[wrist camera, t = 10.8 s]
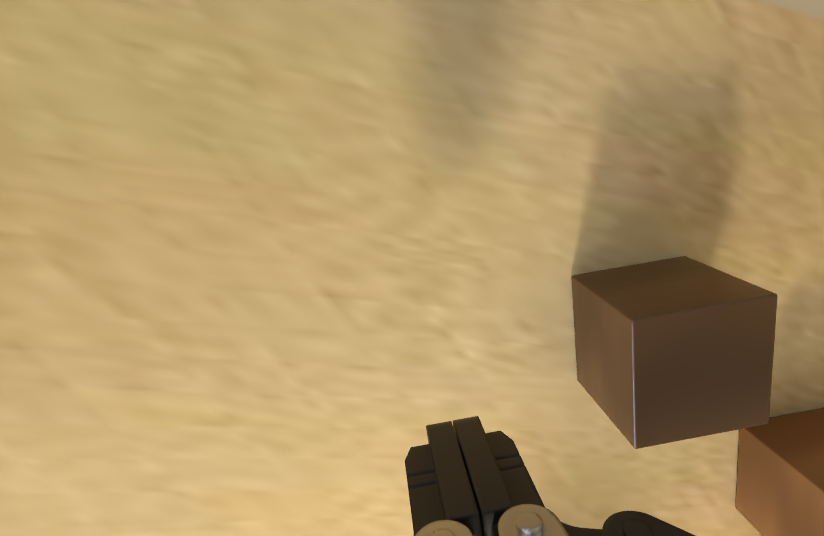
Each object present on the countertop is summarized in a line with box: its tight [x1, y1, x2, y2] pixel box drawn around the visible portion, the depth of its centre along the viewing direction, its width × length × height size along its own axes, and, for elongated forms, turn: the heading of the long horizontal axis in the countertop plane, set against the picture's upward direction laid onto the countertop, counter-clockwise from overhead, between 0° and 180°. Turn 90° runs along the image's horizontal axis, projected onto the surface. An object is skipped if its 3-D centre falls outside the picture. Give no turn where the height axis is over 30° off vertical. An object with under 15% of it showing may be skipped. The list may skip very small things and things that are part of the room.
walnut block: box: [572, 256, 777, 449], centre depth 17 cm, size 4×4×4 cm
